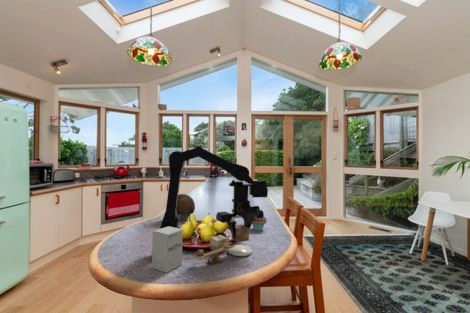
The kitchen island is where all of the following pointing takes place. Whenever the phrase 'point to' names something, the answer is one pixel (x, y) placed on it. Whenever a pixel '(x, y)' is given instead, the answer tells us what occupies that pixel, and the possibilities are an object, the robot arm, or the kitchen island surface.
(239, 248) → the dish
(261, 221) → the cupcake
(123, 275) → the kitchen island surface
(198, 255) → the balance
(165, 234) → the supplement box
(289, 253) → the kitchen island surface
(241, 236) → the walnut block
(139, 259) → the kitchen island surface
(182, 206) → the wooden sphere
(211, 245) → the maple block
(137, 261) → the kitchen island surface
